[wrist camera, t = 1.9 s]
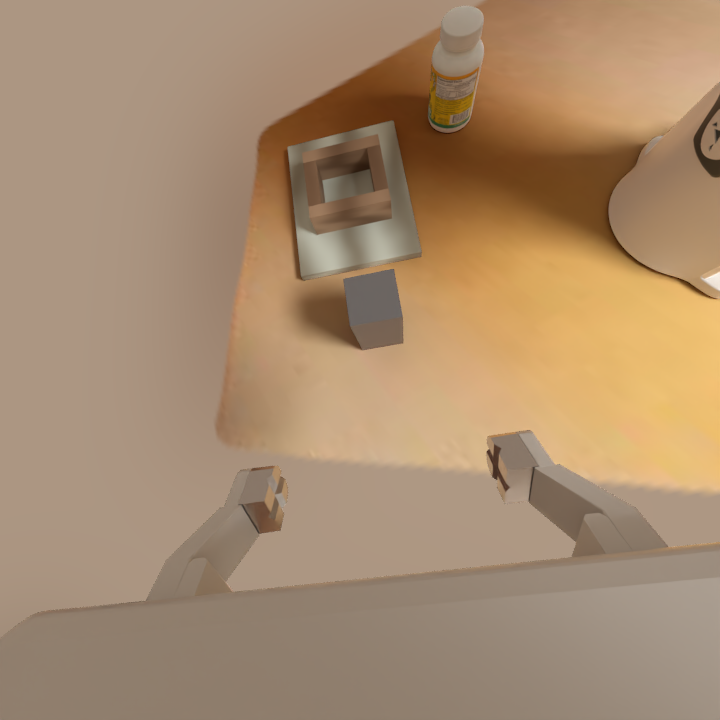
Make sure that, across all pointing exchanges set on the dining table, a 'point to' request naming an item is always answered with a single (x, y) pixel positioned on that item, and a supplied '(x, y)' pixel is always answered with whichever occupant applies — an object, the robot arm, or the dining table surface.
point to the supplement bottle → (456, 69)
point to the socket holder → (351, 202)
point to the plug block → (374, 309)
